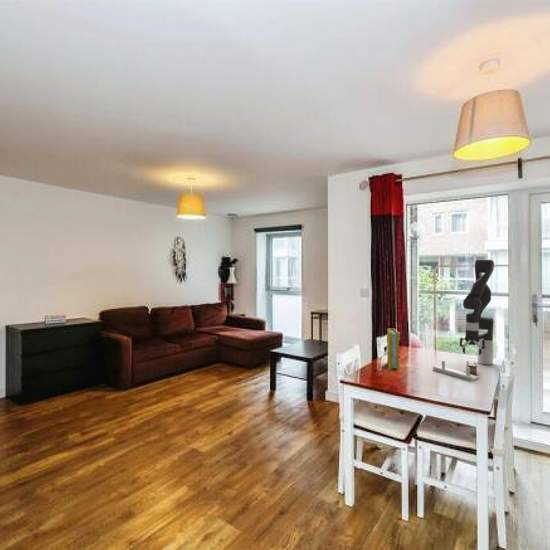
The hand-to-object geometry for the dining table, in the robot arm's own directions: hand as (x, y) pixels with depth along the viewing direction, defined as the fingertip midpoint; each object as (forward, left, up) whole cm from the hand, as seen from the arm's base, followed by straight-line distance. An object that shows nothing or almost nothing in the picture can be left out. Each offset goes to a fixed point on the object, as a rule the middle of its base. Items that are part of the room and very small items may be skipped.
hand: (471, 354), depth 227 cm
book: (+33, -36, -12) cm, 51 cm away
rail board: (+13, -3, -12) cm, 18 cm away
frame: (0, 0, -12) cm, 12 cm away
